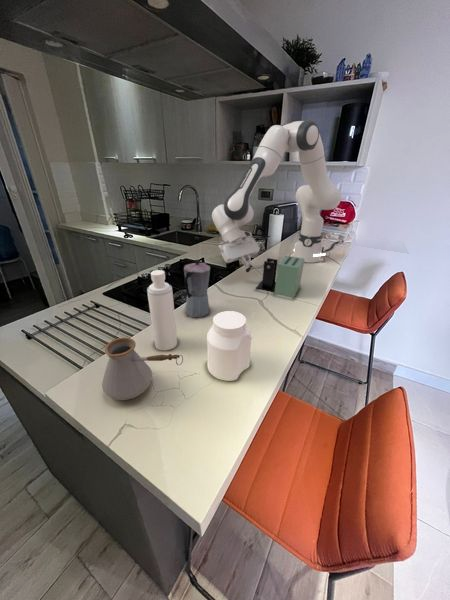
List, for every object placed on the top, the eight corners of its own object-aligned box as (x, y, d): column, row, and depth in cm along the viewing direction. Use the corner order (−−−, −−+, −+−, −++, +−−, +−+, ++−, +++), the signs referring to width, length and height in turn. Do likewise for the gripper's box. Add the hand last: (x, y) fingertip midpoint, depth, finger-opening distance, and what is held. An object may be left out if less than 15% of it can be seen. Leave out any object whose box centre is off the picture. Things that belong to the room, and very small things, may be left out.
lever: (246, 273, 112) (245, 268, 111) (250, 269, 116) (249, 264, 115) (272, 268, 106) (271, 263, 105) (276, 264, 110) (274, 259, 109)
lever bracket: (255, 290, 111) (258, 262, 105) (263, 282, 119) (265, 255, 113) (273, 294, 108) (277, 266, 102) (280, 285, 116) (283, 258, 110)
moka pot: (216, 304, 100) (216, 255, 90) (202, 326, 87) (200, 271, 77) (193, 301, 102) (190, 252, 92) (176, 321, 89) (171, 267, 79)
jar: (227, 347, 77) (228, 304, 70) (254, 361, 72) (258, 316, 65) (201, 369, 69) (199, 322, 62) (230, 386, 64) (231, 337, 57)
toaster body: (274, 295, 107) (278, 264, 100) (281, 285, 116) (285, 255, 110) (293, 300, 104) (298, 267, 97) (299, 288, 113) (304, 258, 107)
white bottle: (182, 341, 79) (175, 265, 67) (166, 353, 74) (156, 273, 62) (166, 334, 82) (157, 260, 70) (150, 345, 77) (138, 267, 65)
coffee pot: (93, 397, 60) (76, 347, 53) (126, 365, 70) (116, 319, 62) (172, 428, 54) (165, 376, 46) (197, 388, 63) (194, 340, 56)
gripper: (220, 239, 105) (236, 268, 104) (252, 231, 118) (267, 257, 117) (213, 247, 110) (228, 275, 109) (245, 239, 123) (259, 264, 121)
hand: (249, 265), depth 113 cm, fingers closed
